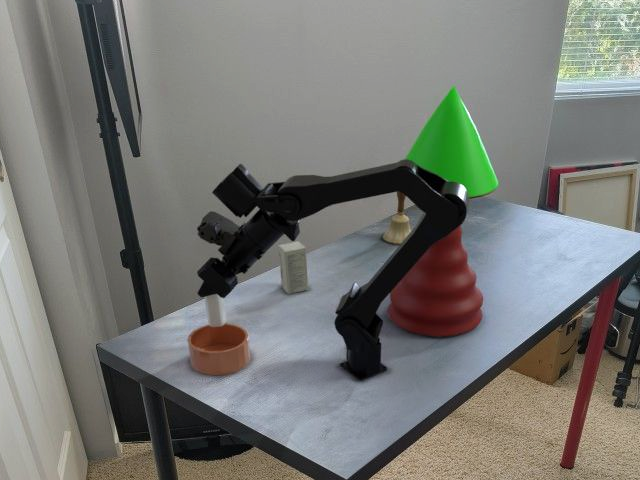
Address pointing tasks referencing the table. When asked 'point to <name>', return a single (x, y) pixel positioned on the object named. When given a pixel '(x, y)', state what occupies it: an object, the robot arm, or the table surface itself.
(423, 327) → the table lamp
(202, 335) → the round bowl
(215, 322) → the eye dropper bottle
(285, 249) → the beige carton box
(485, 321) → the table surface
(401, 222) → the hand bell
